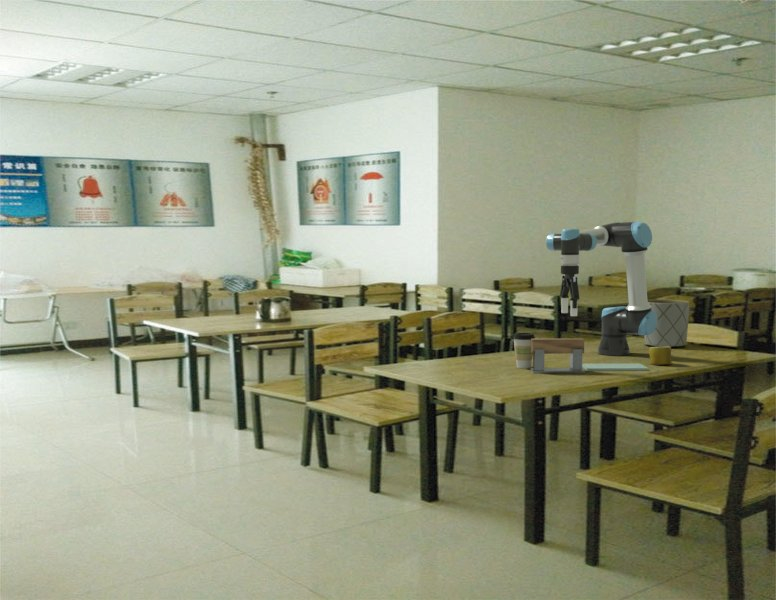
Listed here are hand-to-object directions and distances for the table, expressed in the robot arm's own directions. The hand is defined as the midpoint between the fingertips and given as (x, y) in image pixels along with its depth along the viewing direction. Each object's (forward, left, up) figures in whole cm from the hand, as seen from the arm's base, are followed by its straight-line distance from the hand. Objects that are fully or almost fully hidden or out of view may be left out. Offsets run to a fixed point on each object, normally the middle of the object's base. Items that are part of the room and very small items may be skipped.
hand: (569, 314), depth 323 cm
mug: (-18, +44, -25) cm, 54 cm away
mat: (-7, +21, -25) cm, 33 cm away
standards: (0, -5, -25) cm, 25 cm away
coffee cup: (-10, -18, -25) cm, 32 cm away
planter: (-73, +64, -25) cm, 101 cm away
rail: (0, -5, -17) cm, 17 cm away
